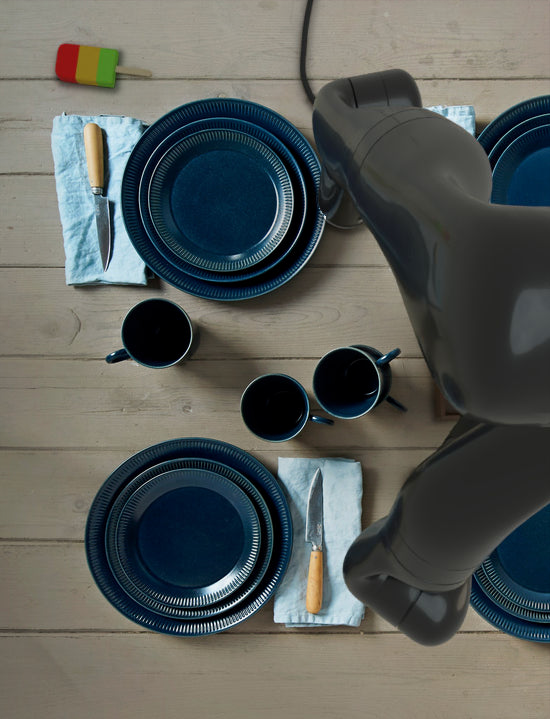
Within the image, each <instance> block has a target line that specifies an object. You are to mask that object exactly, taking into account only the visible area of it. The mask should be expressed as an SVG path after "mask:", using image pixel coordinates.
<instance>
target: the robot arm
mask: <svg viewBox="0 0 550 719" xmlns="http://www.w3.org/2000/svg"><path fill="white" fill-rule="evenodd" d="M306 2H307V3H306V7H305V12H304V16H303V17H304V18H303V24H302V31H301V44H300V57H299V75H300V80H301V84H302V87H303V89H304V92H305V94H306V97H307V98H308V100H309V101H310V103H311V104H312V112H311V114H312V115H311V126H312V128H311V129H312V134H313V140H314V143H315V146H316V149H317V153H318V155H319V157H320V159H321V165H320V166H321V167H320V173H319V174H320V175H319V183H318V188H317V192H318V204H319V207H320V210H321V211H322V213H323V214H324V215H325V216H326V221H325V222H326V223H327V224H329V225H330V226H332V227H333V228H336V229H339V230H345V231H346V230H354V229H357V228H360V227H362V226H364V225H365V227H366V228H367V229H368V231H369V232H370V233H371V235H372V237H373V238H374V240H375V242H376V243H377V246H378V247H379V249H380V251H381V252H382V254H383V257H384V258H385V260H386V262H387V264H388V266H389V268H390V270H391V272H392V275H393V277H394V279H395V282H396V285H397V286H398V290H399V294H400V297H401V300H402V302H403V305H404V307H405V311H406V314H407V317H408V319H409V322H410V324H411V327H412V330H413V333H414V337H415V339H416V341H417V344H418V347H419V350H420V351H421V354H422V357H423V360H424V362H425V364H426V367H427V369H428V372H429V374H430V376H431V377H432V379H433V382H434V381H435V383H436V385H437V386H438V388H439V390H440V391H441V393H442V394H443V396H444V397H445V399H446V400H447V401H448V402H449V403H450V404H451V405H452V407H453V408H454V409H456V410H457V411H458V412H459V413H460V419H458V421H457V422H456V423H455V424H454V426H452V428H451V430H450V431H449V432H448V434H447V436H446V437H445V439H444V440H443V442H442V443H441V445H439V446H438V448H436V450H435V451H434V452H432V453H431V454H430V455H428V456H427V457H426V458H425V459H424V460H423V461H421V462H420V463H419V464H418V465H417V466H416V467H415V468H414V469H413V470H412V471H411V472H410V474H408V476H407V478H406V479H405V481H404V482H403V484H402V486H401V487H400V490H399V491H398V493H397V495H396V498H395V500H394V501H393V504H392V506H391V508H390V511H389V513H388V514H387V515H385V516H383V517H381V518H379V519H378V520H376V521H375V522H372V524H370V525H369V526H367V527H366V528H365V529H363V530H362V531H361V532H360V534H358V536H356V537H355V539H354V540H353V541H352V543H351V544H350V546H349V547H348V549H347V551H346V554H345V555H344V559H343V561H342V570H341V573H342V578H343V581H344V584H345V587H346V589H347V590H348V592H349V593H350V594H351V595H352V596H353V597H354V598H355V599H356V600H357V601H359V602H360V603H362V604H363V605H364V606H366V607H367V608H369V609H370V610H371V611H373V612H374V613H375V614H376V615H378V616H379V617H380V618H382V619H383V620H385V621H386V622H387V623H388V624H389V625H391V626H392V627H394V628H396V629H397V630H398V631H399V632H400V633H401V634H403V635H404V636H406V637H407V638H409V639H410V640H411V641H413V642H414V643H416V644H418V645H420V646H423V647H427V648H429V647H430V648H431V647H432V648H434V647H437V646H442V645H444V644H445V643H448V642H449V641H450V640H451V639H452V638H454V637H455V636H456V635H457V633H458V632H459V631H460V630H461V627H462V626H463V624H464V621H465V619H466V617H467V614H468V610H469V606H470V602H471V595H472V584H473V583H472V582H473V576H474V574H475V573H476V572H477V570H478V569H479V568H480V567H481V566H482V565H483V564H484V562H485V561H486V560H487V559H488V558H489V557H490V556H491V554H492V553H493V552H494V551H495V550H496V548H497V547H498V546H499V545H500V544H501V543H502V542H503V541H504V540H505V539H507V537H508V536H510V535H511V534H512V533H513V532H514V531H515V530H516V529H517V528H519V526H521V525H522V524H523V523H525V522H526V521H527V520H529V519H530V518H531V517H533V516H534V515H536V514H537V513H538V512H539V511H541V510H542V509H543V508H544V507H546V506H548V505H549V504H550V206H529V205H528V206H527V205H510V204H500V203H499V204H498V203H492V202H491V198H492V191H493V171H492V166H491V163H490V158H489V157H488V155H487V152H486V151H485V149H484V147H483V146H482V144H481V143H480V142H479V141H478V140H477V139H476V137H475V136H474V135H473V134H472V133H470V131H468V130H467V129H466V128H464V127H463V126H461V125H460V124H458V123H456V122H454V121H453V120H451V119H449V118H448V117H446V116H444V115H443V114H441V113H438V112H435V111H433V110H431V109H428V108H424V106H423V99H422V94H421V92H420V89H419V86H418V84H417V81H416V80H415V79H414V77H413V76H412V74H410V73H409V72H408V71H406V70H405V69H402V68H390V69H385V70H379V71H374V72H369V73H363V74H358V75H353V76H347V77H343V78H338V79H334V80H332V81H330V82H328V83H326V84H324V85H323V86H322V87H321V88H320V89H319V91H318V92H317V94H316V96H315V94H314V93H313V91H312V89H311V86H310V84H309V81H308V80H309V79H308V77H307V69H306V68H307V66H306V62H307V50H308V48H307V47H308V35H309V27H310V20H311V14H312V10H313V9H312V8H313V5H314V4H313V3H314V0H307V1H306ZM316 206H317V208H318V205H317V204H316Z"/></svg>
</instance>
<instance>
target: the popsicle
mask: <svg viewBox="0 0 550 719" xmlns="http://www.w3.org/2000/svg"><path fill="white" fill-rule="evenodd" d="M119 56H120V53H119V50H118V49H114V48H109V47H108V48H107V47H100V46H99V47H98V46H91V45H90V46H89V45H83V44H75V43H66V42H65V43H61V44H60V45H59V46H58V48H57V52H56V58H55V59H56V60H55V67H54V73H55V75H56V76H57V78H58V79H59V80H60V81H62V82H66V83H73V84H81V85H88V86H95V87H96V86H97V87H104V88H112V89H113V88H114V87H115V84H116V78H117V74H124V75H130V76H131V75H132V76H140V77H152V74H153V72H152V70H151V69H147V68H137V67H131V66H122V65H118V63H119Z"/></svg>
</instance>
